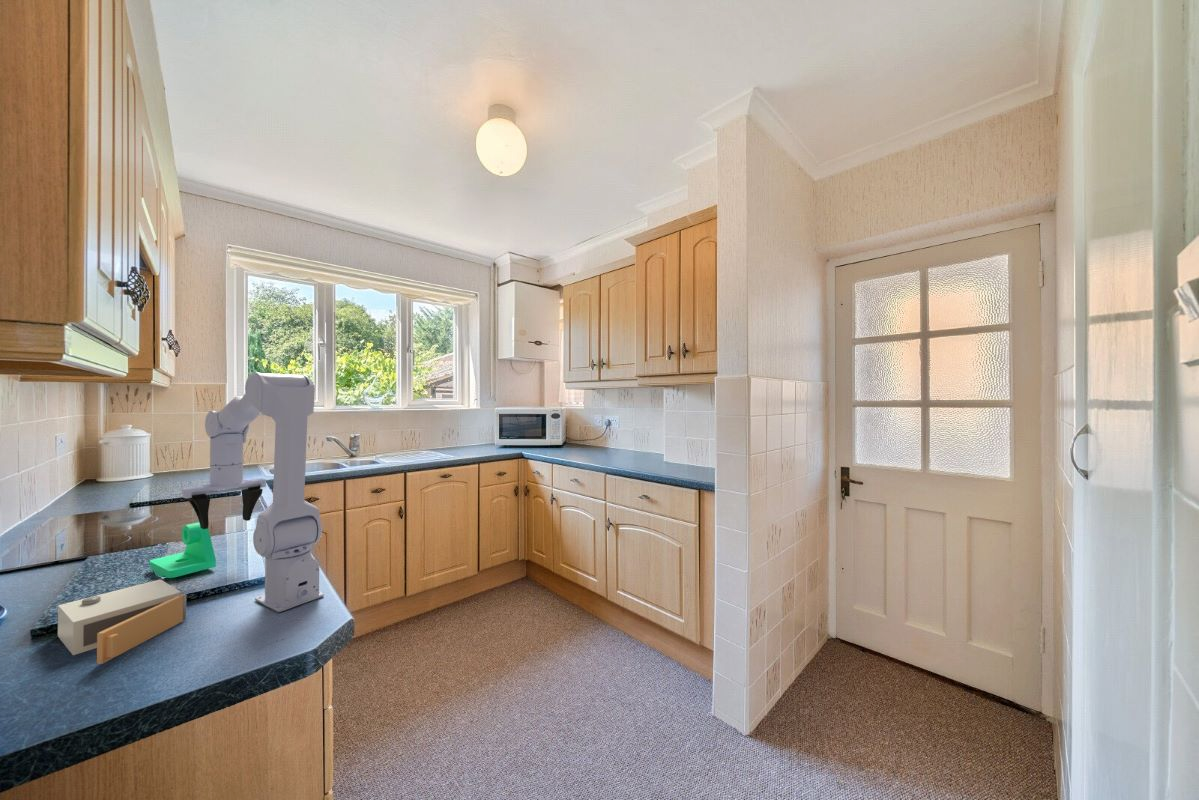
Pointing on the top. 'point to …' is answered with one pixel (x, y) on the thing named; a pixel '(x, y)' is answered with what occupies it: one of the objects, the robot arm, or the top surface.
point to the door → (140, 628)
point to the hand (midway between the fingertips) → (226, 523)
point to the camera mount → (187, 554)
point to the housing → (107, 612)
